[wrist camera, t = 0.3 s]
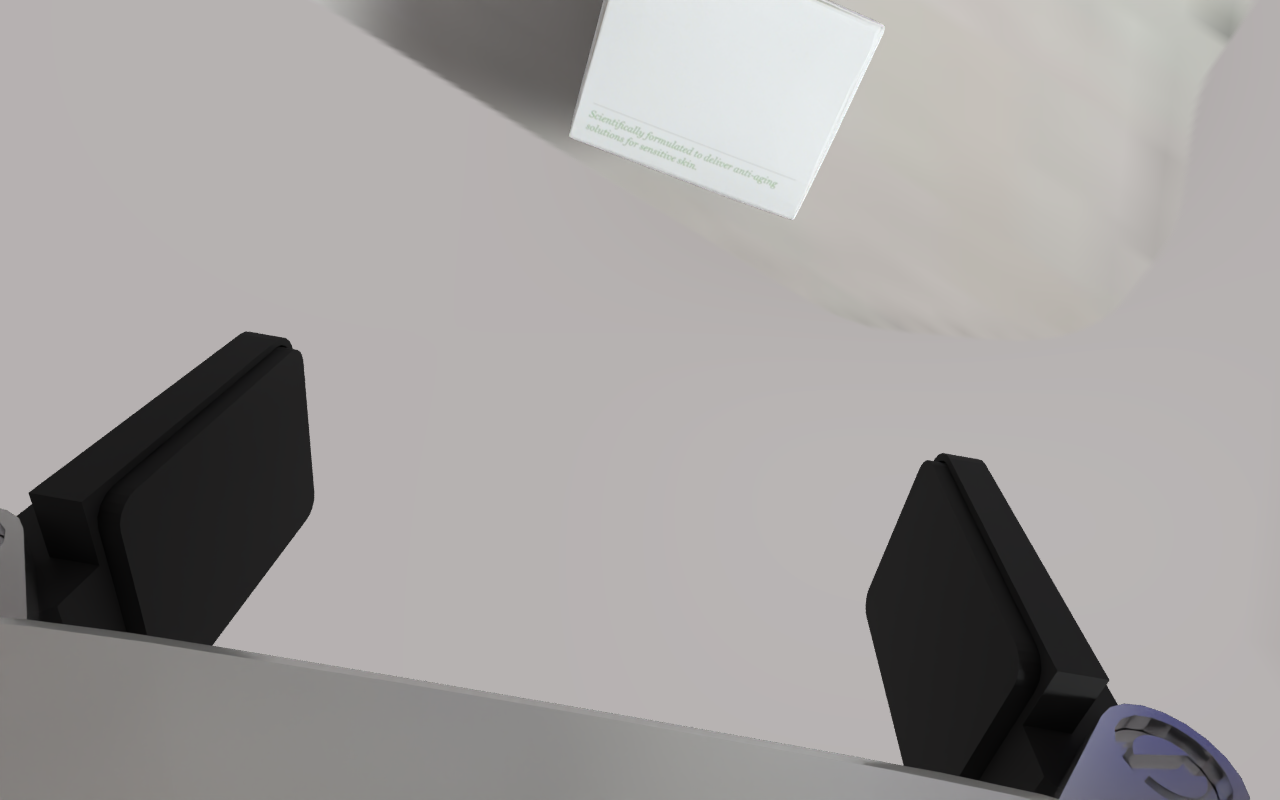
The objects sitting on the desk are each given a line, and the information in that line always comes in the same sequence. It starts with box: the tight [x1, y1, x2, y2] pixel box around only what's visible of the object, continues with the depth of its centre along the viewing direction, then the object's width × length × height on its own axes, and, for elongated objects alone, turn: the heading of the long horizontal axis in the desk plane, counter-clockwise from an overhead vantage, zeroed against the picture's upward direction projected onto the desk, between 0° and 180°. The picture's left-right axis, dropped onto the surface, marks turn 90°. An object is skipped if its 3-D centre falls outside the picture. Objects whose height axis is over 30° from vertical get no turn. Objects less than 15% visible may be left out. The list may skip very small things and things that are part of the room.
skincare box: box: [569, 0, 885, 220], centre depth 29 cm, size 8×7×16 cm
